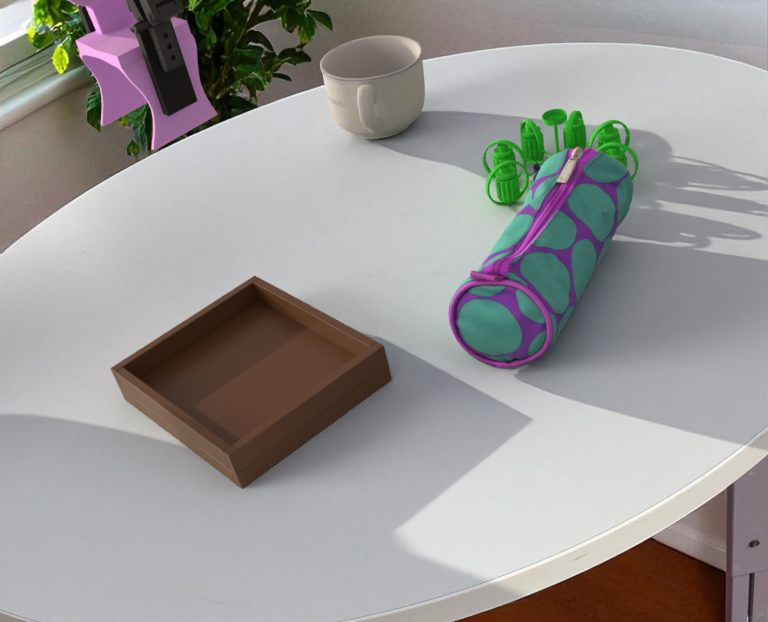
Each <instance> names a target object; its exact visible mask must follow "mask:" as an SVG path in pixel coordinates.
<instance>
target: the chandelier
mask: <svg viewBox="0 0 768 622" xmlns="http://www.w3.org/2000/svg"><path fill="white" fill-rule="evenodd" d="M541 121H542V124H543V125H544V126H548V127H553V136H554V137H553V138H554V139H553V140H554V151H555V154H556V153H559V152H561V151H560V142H559V129H558V128H559V127H558V126H560V125H562V124H563V126H564V127H563V128H562V129H563V130H562V136H563V147H564V150H566V149H568V148H570V149H575V148H576V147H581V148H582V149H586V148H590V147H591V148H592V149H593V146H594V142H595V140H596V144H597V145H596V146H597V149H596V151H603V153H605V154H606V155H608V156H610V157H613V158H615V159H617V160H618V161H620V162H621V163H622V164H623V165H624V166H625V167H626V168H627V169H628V157H627V156H626V153H628V154H629V155H630V156H631V158H632V159H633V162H634V166H635V167H634V172H633V174H632V176H631V179H632V181H633V180H634V179H635V177H636V175H637V173H638V171H639V166H640V165H639V159H638V158H639V157H638V156H637V154H636V152H635V151H634V150H633V149H632V148H631V147H630V143H631V133H630V129H629V128H628V126H627V125H626V124H625V123H624V122H623V121H620V120H618V119H610V120H607V121H605V122H603V123H601V124H599V125H598V126H597V127H596V128H595V129H594V131H593V132H592V133H591V135H590V138H589V140H588V142H587V128H586V125H585V121H584V118H583V113H582V112H581V111H580V110H572V111H571V112H570V114H569V116H568V113H567V111H566V110H565V109H563V108H553V109H548V110H546V111H545V112H543V113H542V115H541ZM614 125H621V127H623V129H624V132H625V139H624V140H625V141H624V143H622V142H621V135H620V131H619V128H618V127H616V126H614ZM519 135H520V138H519V139H520V145H518V144H516V143H515V142H514V141H511V140H507V139H497V140H494V141H492V142H491V143H489V144H488V145H487V146H486V147H485V150H484V151H483V154H482V165H483V167H484V170H485V171H486V174H488V176H487V177H486V180H485V193H486V196H487V198H488V199H489V200H490V201H491V202H492V203H493V204H494V205H497V206H500V207H507V206H510V205H513V204H514V203H516V202H517V201H519V200H520V199H521V198H522V197H523V196H524V194H525V193H526V191H527V190H529V189H530V188H531V186H532V184H533V179H532V180H530V179H529V177H531V176H532V175H533V172H532V171H531V172H528V170H527V164H529V165H531V164H532V165H534V164H535V163H536V162H538V163H539V165H543V164H544V162H545V161H546V160H544V159H545V155H546V156H547V157H548V158H549V157H551V156H552V155H551V154H550V153H549V152H548V151H547V150H546V149H545V139H544V134H543V132H542V129H541V127H540V126H539V125H537V123H535V121H534V120H533V119H531V118H527V119H524V120H522V121H521V123H520V125H519ZM587 144H588V145H587ZM494 146H497V147H495V148H493V154H492V163H493V168H492V169H491V168H490V166H489V164H488V161H487V153H488V151H489V149H491V148H492V147H494ZM514 150H515V151H516V152H517V153H518V154H519V157H520V158H521V161H522V163H521V162H520V161H518V160H516V159H517V158H516V153H515V151H514ZM517 166H520V167H521V168H522V169H521V172H520V173H519V174H518V167H517ZM523 174H524V181H523V185H522V187H521V188H520V181H519V180H520V178H521V177H522V176H523ZM492 180H495V181H494V182H495V189H496V197H497V199H498V200H499V201H497V200H495V199H494V198H493V197H492V195H491V190H490V185H491V182H492ZM529 181H530V182H529ZM528 187H529V188H528Z"/></svg>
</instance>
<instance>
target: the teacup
mask: <svg viewBox="0 0 768 622" xmlns="http://www.w3.org/2000/svg"><path fill="white" fill-rule="evenodd" d="M423 55H424V50H423V47H422V45H421V44H420V43H419V42H418V41H416V40H415V39H413V38H410V37H407V36H402V35H388V34H387V35H383V34H382V35H381V34H380V35H377V34H376V35H372V36H364V37H359V38H356V39H353V40H350V41H347V42H344V43H342V44H340V45H337V46H336V47H334V48H332V49H330V50H329V51H328V52H327V53H325V54H324V55H323V57H322V58H321V60H320V62H319V67H320V69H319V70H320V71H321V74H322V78H323V83H324V89H325V94H326V98H327V99H326V100H327V103H328V107H329V109H330V113H331V115H332V117H333V120H334V121H335V123H336V124H337V125H338V126H339V127H341V128H342V129H343V130H345V131H346V132H349V133H351V134H352V135H353V136H355V137H357V138H360V139H366V140H380V139H379V138H382V139H386V137H387V138H390V137H389V136H391V137H393V136H392V135H394V136H396V135H398V134H397V133H399V134H401V133H403V132H404V131H406V128H407V127H408V126H409V125H410V124H411V125H412V123H413V122H414V121H415V120H416V119H417V118H418V117H419V116H420V115H421V112H422V111H423V108H424V106H425V101H426V85H425V83H426V82H425V72H424V61H423ZM411 125H410V126H411ZM410 126H409V127H410ZM409 127H408V128H409ZM408 128H407V129H408ZM403 130H404V131H403ZM400 132H401V133H400ZM395 134H396V135H395Z"/></svg>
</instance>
